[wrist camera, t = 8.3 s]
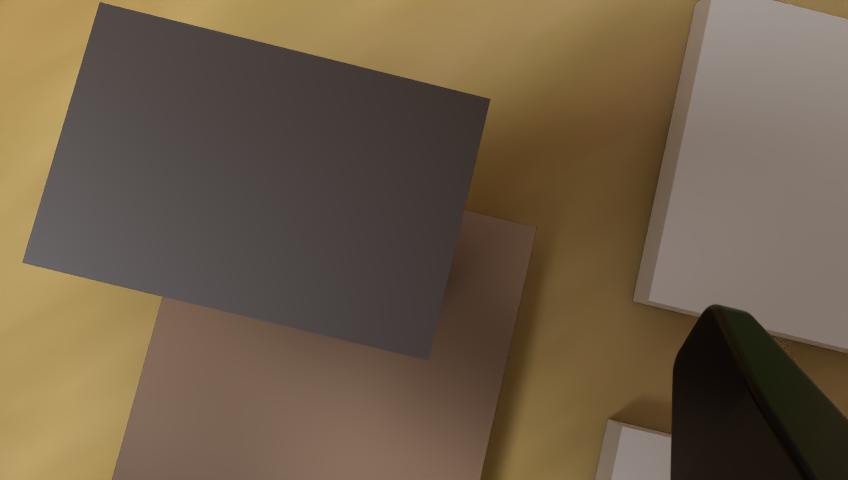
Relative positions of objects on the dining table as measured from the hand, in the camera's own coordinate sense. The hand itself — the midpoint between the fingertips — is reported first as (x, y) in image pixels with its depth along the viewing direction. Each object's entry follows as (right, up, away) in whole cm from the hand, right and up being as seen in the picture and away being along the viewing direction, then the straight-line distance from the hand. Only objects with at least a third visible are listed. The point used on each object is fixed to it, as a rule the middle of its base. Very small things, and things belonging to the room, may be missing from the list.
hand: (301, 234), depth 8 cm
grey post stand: (-2, -8, +10) cm, 13 cm away
